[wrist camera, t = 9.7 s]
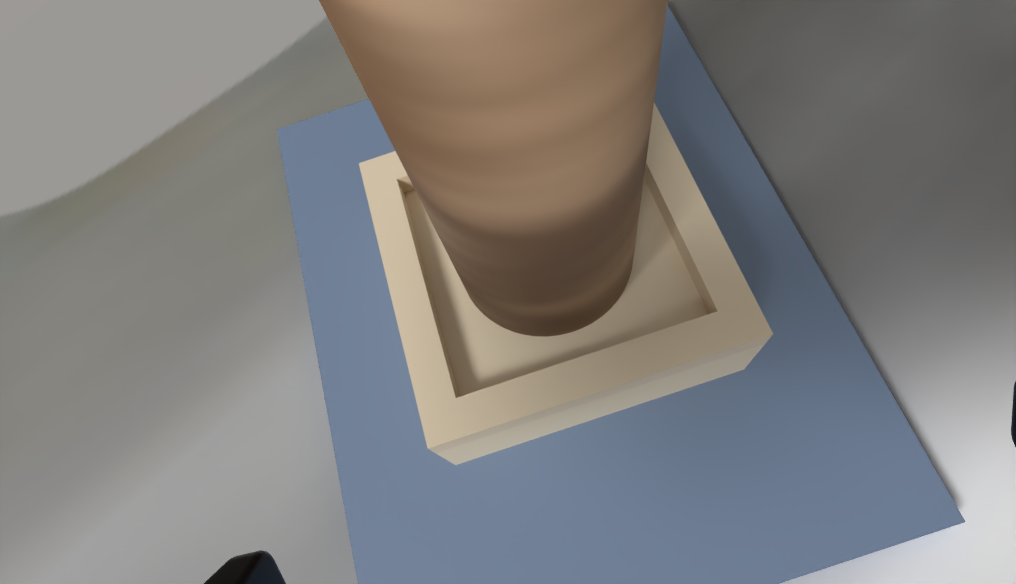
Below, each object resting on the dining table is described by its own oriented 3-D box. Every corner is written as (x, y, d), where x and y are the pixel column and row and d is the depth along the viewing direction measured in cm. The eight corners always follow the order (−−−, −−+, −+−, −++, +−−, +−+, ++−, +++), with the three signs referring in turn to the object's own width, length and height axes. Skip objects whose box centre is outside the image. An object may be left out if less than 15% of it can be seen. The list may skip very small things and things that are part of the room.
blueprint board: (953, 522, 17) (1051, 515, 13) (388, 709, 17) (332, 753, 13) (663, 12, 25) (675, -79, 21) (283, 138, 25) (231, 69, 21)
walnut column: (670, 246, 17) (837, -412, 5) (547, 373, 16) (422, -85, 4) (542, 150, 19) (454, -505, 7) (425, 260, 18) (100, -283, 6)
